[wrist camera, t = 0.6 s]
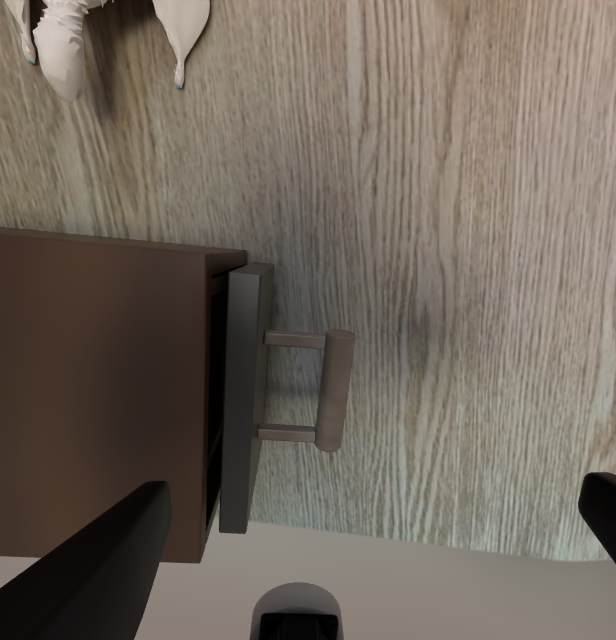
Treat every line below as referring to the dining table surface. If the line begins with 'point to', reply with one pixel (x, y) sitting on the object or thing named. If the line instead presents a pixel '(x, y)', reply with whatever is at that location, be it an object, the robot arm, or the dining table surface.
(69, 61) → the winged dragon toy
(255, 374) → the drawer
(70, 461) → the cabinet
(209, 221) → the dining table surface
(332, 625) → the robot arm
